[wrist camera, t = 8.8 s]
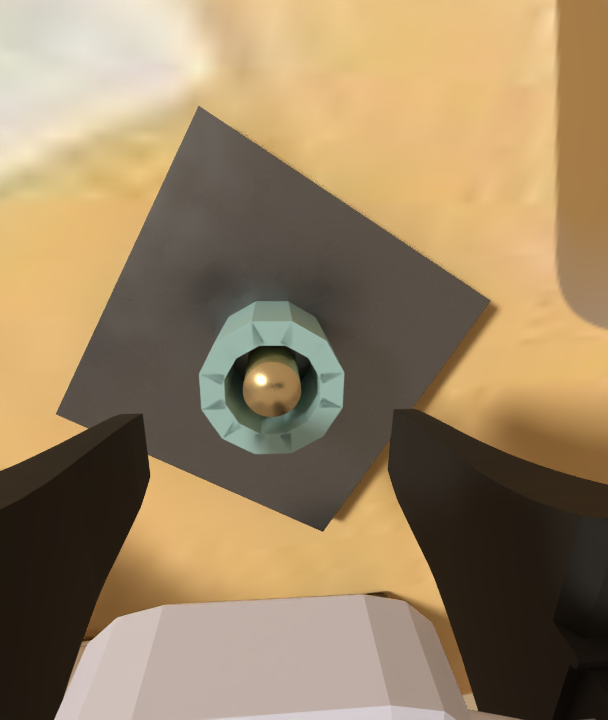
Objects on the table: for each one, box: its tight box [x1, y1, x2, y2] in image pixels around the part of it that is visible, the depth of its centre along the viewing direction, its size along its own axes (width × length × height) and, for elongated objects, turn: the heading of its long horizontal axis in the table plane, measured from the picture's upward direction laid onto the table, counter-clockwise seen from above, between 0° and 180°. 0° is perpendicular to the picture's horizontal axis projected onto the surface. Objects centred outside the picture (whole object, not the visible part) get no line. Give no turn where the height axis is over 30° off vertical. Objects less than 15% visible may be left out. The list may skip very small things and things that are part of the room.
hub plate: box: [56, 106, 490, 532], centre depth 18 cm, size 15×15×6 cm
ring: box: [199, 301, 344, 454], centre depth 17 cm, size 5×5×4 cm
